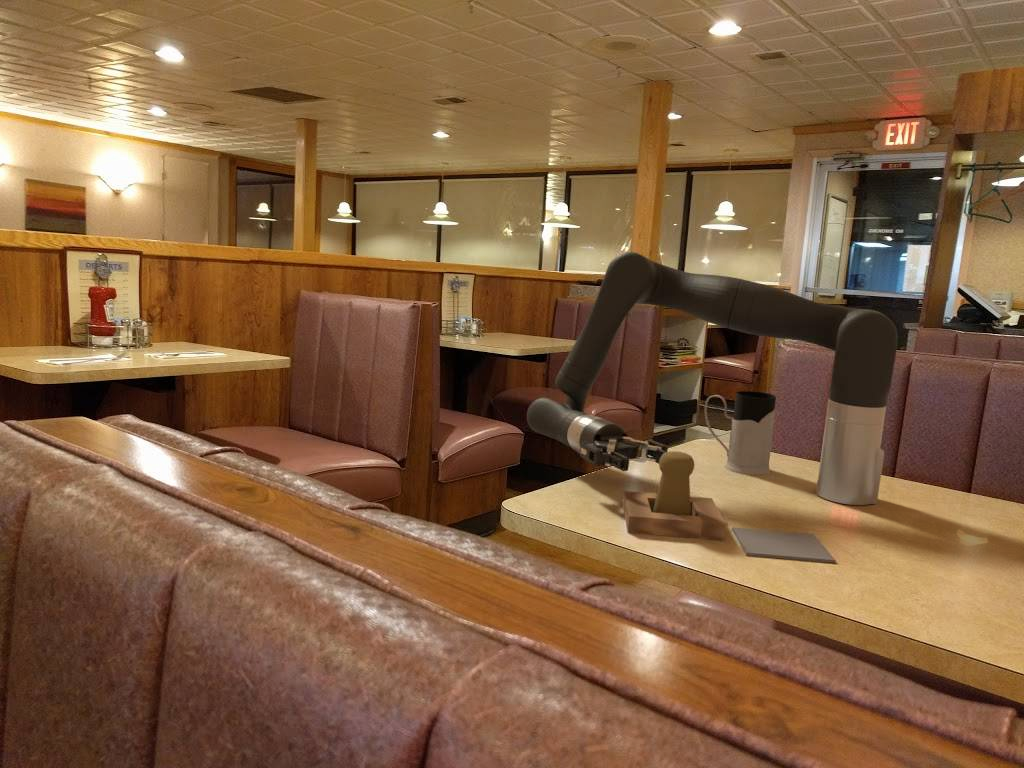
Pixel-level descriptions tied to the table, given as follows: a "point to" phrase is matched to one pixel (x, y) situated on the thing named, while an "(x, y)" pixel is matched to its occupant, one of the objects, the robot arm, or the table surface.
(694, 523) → the socket block
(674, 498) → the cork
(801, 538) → the rubber mat
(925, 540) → the table surface
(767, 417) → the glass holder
